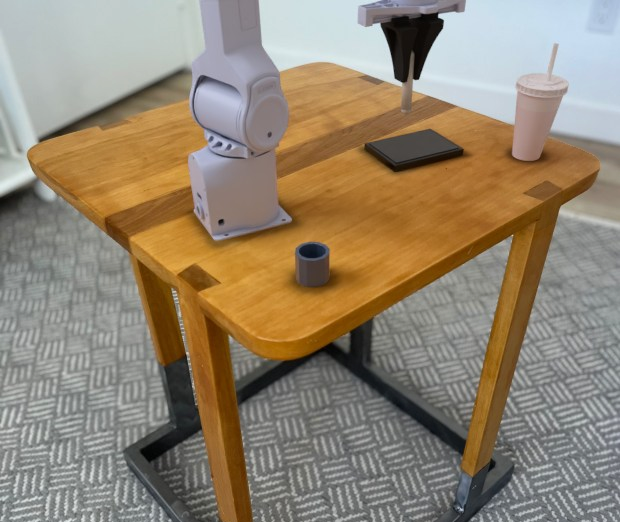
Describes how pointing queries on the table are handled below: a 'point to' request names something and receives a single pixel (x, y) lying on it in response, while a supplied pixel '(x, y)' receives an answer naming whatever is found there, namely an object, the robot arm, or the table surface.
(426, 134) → the tablet
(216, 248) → the table surface
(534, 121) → the smoothie
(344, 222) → the table surface
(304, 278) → the pencil cup
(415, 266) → the table surface
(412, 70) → the stylus
